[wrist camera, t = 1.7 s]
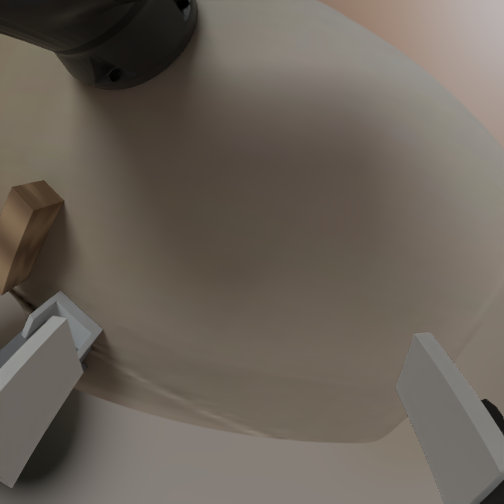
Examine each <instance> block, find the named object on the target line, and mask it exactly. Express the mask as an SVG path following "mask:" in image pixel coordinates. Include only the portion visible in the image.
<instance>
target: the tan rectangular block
mask: <svg viewBox="0 0 504 504" xmlns="http://www.w3.org/2000/svg"><path fill="white" fill-rule="evenodd" d="M63 202H64V200H63V199H62V198H61V197H60V196H59V195H58V194H57V193H56V192H55V191H54V190H53V189H52V188H51V187H50V186H49V185H48V184H47V183H46V182H45V181H44V180H43V181H38V182H33V183H28V184H24V185H19V186H15V187H12V189H11V191H10V193H9V196H8V198H7V201H6V204H5V206H4V209H3V211H2V214H1V217H0V294H1V295H3V294H5V293H6V292H8V291H9V290H11V289H12V288H14V287H15V286H17V285H18V284H20V283H21V282H23V281H24V280H26V279H27V278H28V277H29V274H30V272H31V270H32V267H33V265H34V262H35V260H36V258H37V255H38V253H39V251H40V249H41V247H42V244H43V242H44V240H45V238H46V236H47V234H48V232H49V230H50V228H51V225H52V223H53V221H54V220H55V218H56V216H57V214H58V212H59V210H60V208H61V206H62V204H63Z"/></svg>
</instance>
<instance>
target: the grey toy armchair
mask: <svg viewBox="0 0 504 504" xmlns="http://www.w3.org/2000/svg"><path fill="white" fill-rule="evenodd" d="M52 316H57V317H63V318H67V319H68V323H69V327H70V331H71V334H72V338H73V341H74V344H75V348H76V351H77V354H78V357H79V360H80V363H81V366H82V369H83V372H84V371H85V369H86V368H87V366H86V365H84V364H83V363H82V361H83V360H84V359H85V357H86V356H87V354H88V353H89V352H90V350H91V349H92V347H91V345H92V344H93V342H94V341H95V340H96V338H97V337H98V335H99V334H100V333H101V331H102V330H103V329H102V328H101V327H100V326H98V325H97V324H96V323H95V322H94V321H93V320H92V319H90V318H89V317H88V316H87V315H86V314H85V313H84V312H83V311H82V310H81V309H80V308H78V307H77V306H76V305H75V304H74V303H73V302H72V301H71V300H70V299H69V298H68V297H67V296H66V295H65V294H64V293H63V292H62V291H61V290H60V291H59V292H58V293H56V294H55V295H54V296H53V297H51V298H50V299H49V300H48V301H46V302H45V303H44V304H43V305H41V306H40V307H39V308H38V309H36V310H35V311H34V312H33V313H32V314H30V315H29V317H28V320H27V322H26V324H25V327H24V329H23V331H21V332H20V333H19V334H18V335H17V336H16V337H15V338H14V339H13V340H11V341H10V342H9V343H8V344H7V345H6V346H5V347H4V348H3V349H2V350H0V368H1V367H2V366H3V365H4V364H5V363H6V362H7V361H8V360H9V359H10V358H11V357H12V356H13V355H14V354H15V353H16V352H17V351H18V350H19V349H20V348H21V347H22V346H23V345H24V344H25V343H26V341H27V340H28V339H29V338H30V337H32V336H33V335H34V334H35V333H36V332H37V331H38V330H39V329H40V328H41V327H42V326H43V325H44V324H45V323H46V322H47V321H48V320H49V319H50V318H51V317H52Z"/></svg>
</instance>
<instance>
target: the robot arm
mask: <svg viewBox="0 0 504 504" xmlns="http://www.w3.org/2000/svg"><path fill="white" fill-rule="evenodd" d="M196 20H197V5H196V1H195V0H0V33H1V34H4V35H7V36H10V37H13V38H16V39H19V40H22V41H25V42H28V43H31V44H34V45H36V46H39V47H42V48H45V49H47V50H50V51H53V52H54V53H55V54H56V55H57V57H58V58H59V59H60V61H61V62H62V63H63V65H64V66H65V67H66V69H67V70H68V71H69V72H70V74H71V75H72V76H74V77H75V78H76V79H78V80H79V81H81V82H83V83H85V84H88V85H91V86H94V87H97V88H100V89H107V90H117V89H125V88H129V87H133V86H136V85H138V84H141V83H143V82H145V81H147V80H149V79H151V78H153V77H154V76H156V75H158V74H159V73H160V72H162V71H163V70H164V69H166V68H167V67H168V66H169V65H170V64H171V63H172V62H173V61H175V59H176V58H177V57H178V56H179V55H180V54H181V52H182V51H183V50H184V48H185V47H186V45H187V44H188V42H189V40H190V38H191V36H192V34H193V32H194V29H195V25H196ZM83 373H84V372H83V369H82V366H81V363H80V360H79V357H78V354H77V351H76V348H75V344H74V341H73V338H72V334H71V331H70V327H69V323H68V319H67V318H63V317H57V316H52V317H51V318H50V319H49V320H48V321H47V322H46V323H45V324H44V325H43V326H42V327H41V328H40V329H39V330H38V331H37V332H36V333H35V334H34V335H33V336H32V337H30V338H29V339H28V340H27V341H26V343H25V344H24V345H23V346H22V347H21V348H20V349H19V350H18V351H17V352H16V353H15V354H14V355H13V356H12V357H11V358H10V359H9V360H8V361H7V362H6V363H5V364H4V365H3V366H2V367H1V368H0V481H1V482H2V483H4V484H6V485H7V486H9V487H11V488H12V487H13V485H14V483H15V482H16V480H17V478H18V476H19V475H20V473H21V471H22V469H23V468H24V466H25V464H26V462H27V461H28V459H29V457H30V455H31V454H32V452H33V450H34V449H35V447H36V445H37V444H38V442H39V441H40V439H41V437H42V436H43V434H44V432H45V430H46V429H47V428H48V426H49V424H50V423H51V421H52V420H53V418H54V417H55V415H56V413H57V412H58V410H59V409H60V407H61V406H62V404H63V402H64V401H65V400H66V398H67V397H68V395H69V393H70V392H71V390H72V389H73V387H74V386H75V385H76V383H77V382H78V380H79V379H80V377H81V376H82V374H83ZM395 389H396V391H397V393H398V395H399V398H400V400H401V402H402V404H403V406H404V408H405V411H406V413H407V415H408V417H409V419H410V421H411V424H412V426H413V428H414V430H415V433H416V435H417V437H418V440H419V442H420V445H421V447H422V449H423V451H424V454H425V456H426V459H427V461H428V464H429V466H430V469H431V471H432V473H433V476H434V478H435V481H436V484H437V486H438V489H439V492H440V494H441V497H442V499H443V502H444V504H504V419H503V416H502V414H501V413H500V412H499V410H498V409H497V407H496V406H494V405H493V404H492V403H491V402H489V401H488V400H487V399H484V400H480V399H479V397H478V396H477V394H476V393H475V392H474V390H473V389H472V387H471V386H470V384H469V383H468V381H467V380H466V379H465V377H464V376H463V375H462V373H461V372H460V370H459V369H458V368H457V366H456V365H455V364H454V362H453V361H452V360H451V358H450V357H449V356H448V354H447V353H446V352H445V350H444V349H443V348H442V346H441V345H440V344H439V342H438V341H437V340H436V339H435V337H434V336H433V335H432V333H431V332H426V333H414V335H413V338H412V341H411V345H410V348H409V351H408V354H407V357H406V360H405V363H404V365H403V368H402V371H401V374H400V376H399V379H398V382H397V384H396V387H395Z"/></svg>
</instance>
